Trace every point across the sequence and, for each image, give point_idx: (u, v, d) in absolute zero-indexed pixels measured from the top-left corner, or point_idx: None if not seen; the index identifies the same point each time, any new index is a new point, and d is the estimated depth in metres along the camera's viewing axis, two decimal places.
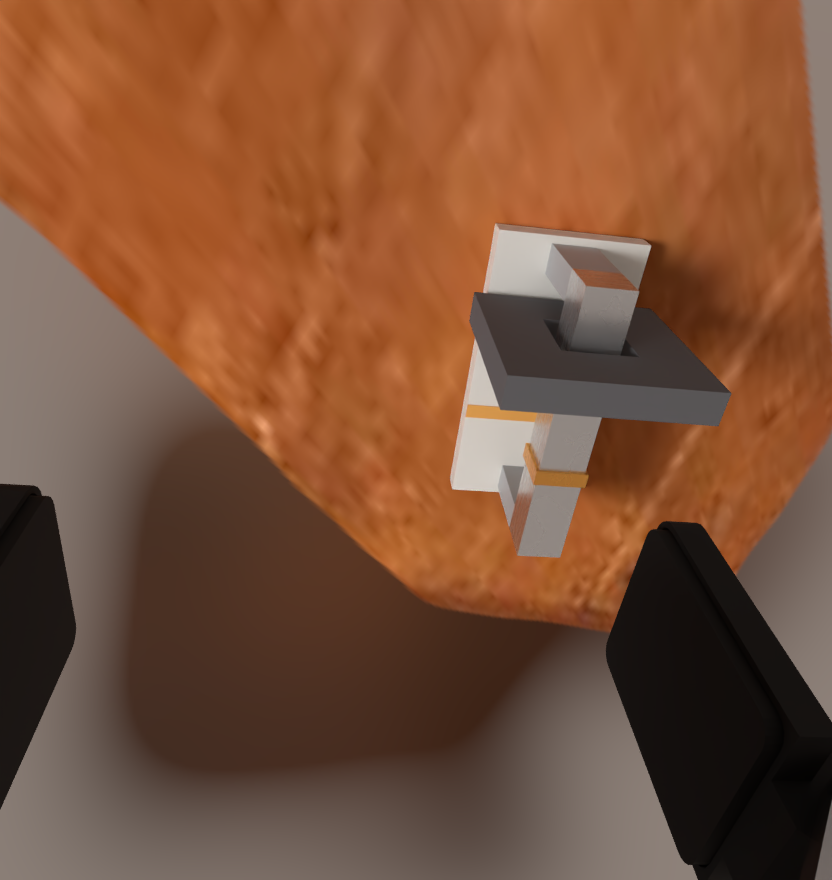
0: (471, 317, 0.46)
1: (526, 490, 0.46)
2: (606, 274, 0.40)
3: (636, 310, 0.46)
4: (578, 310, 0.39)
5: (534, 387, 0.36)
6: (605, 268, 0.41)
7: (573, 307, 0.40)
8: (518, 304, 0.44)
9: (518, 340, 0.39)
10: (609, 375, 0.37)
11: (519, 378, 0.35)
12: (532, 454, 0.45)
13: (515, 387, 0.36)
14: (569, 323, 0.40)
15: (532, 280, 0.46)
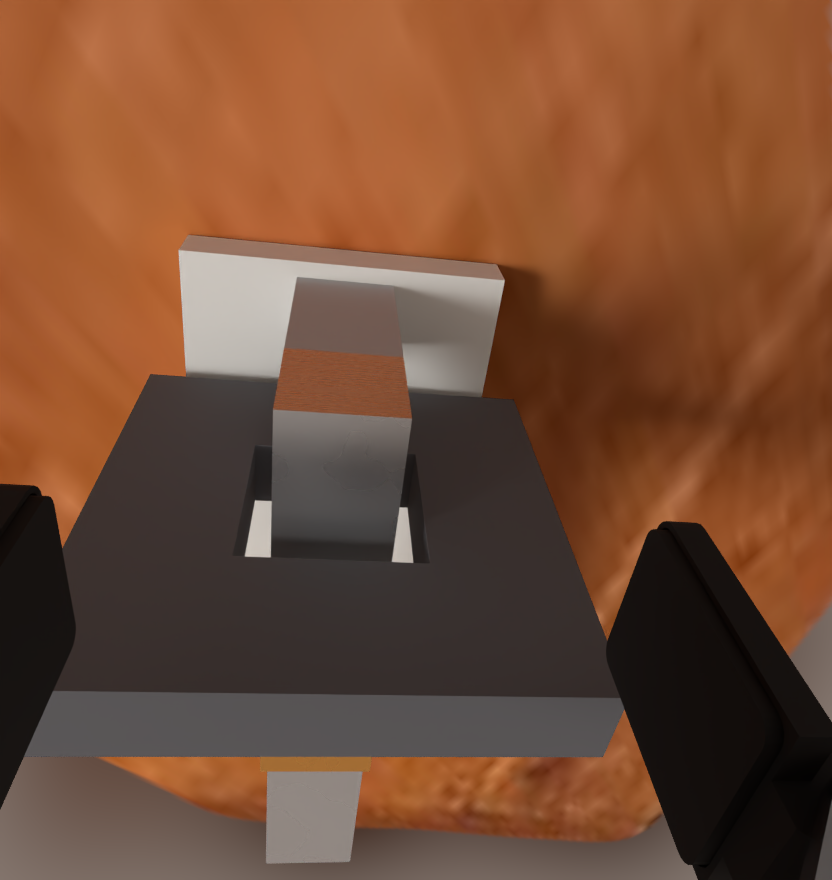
0: None
1: None
2: (360, 363, 0.17)
3: (482, 407, 0.23)
4: (273, 460, 0.16)
5: (82, 711, 0.13)
6: (371, 342, 0.18)
7: None
8: (226, 405, 0.21)
9: (140, 526, 0.17)
10: (312, 655, 0.14)
11: None
12: None
13: None
14: None
15: (271, 349, 0.23)
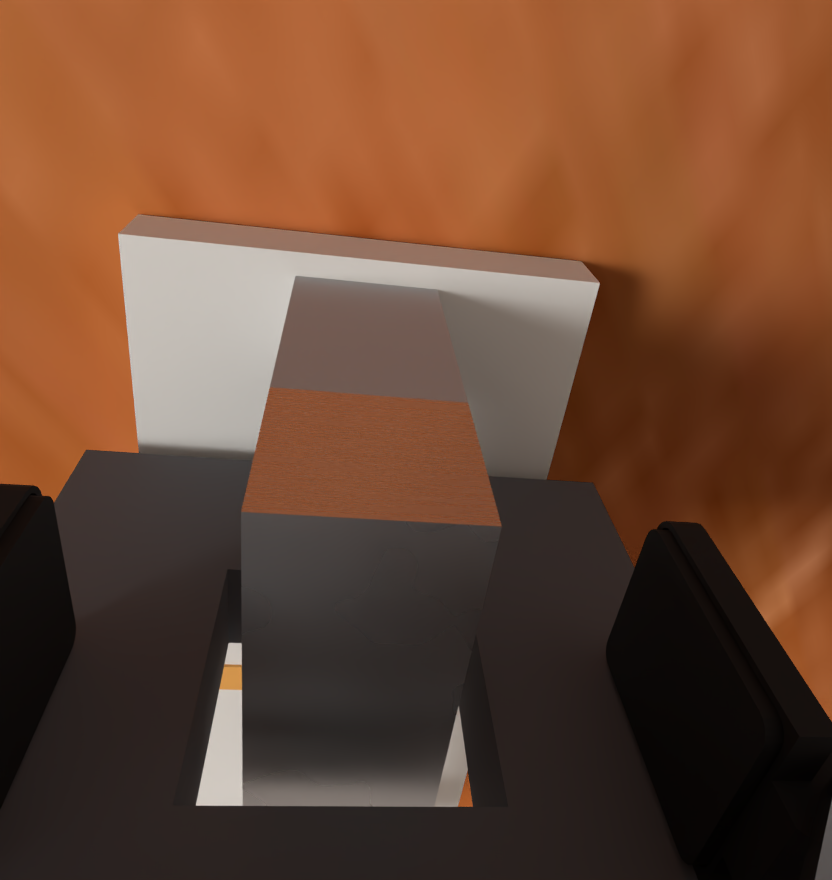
0: None
1: None
2: (398, 414, 0.10)
3: (552, 495, 0.17)
4: (244, 593, 0.09)
5: None
6: (414, 377, 0.11)
7: None
8: (190, 499, 0.15)
9: None
10: None
11: None
12: None
13: None
14: None
15: (258, 381, 0.16)
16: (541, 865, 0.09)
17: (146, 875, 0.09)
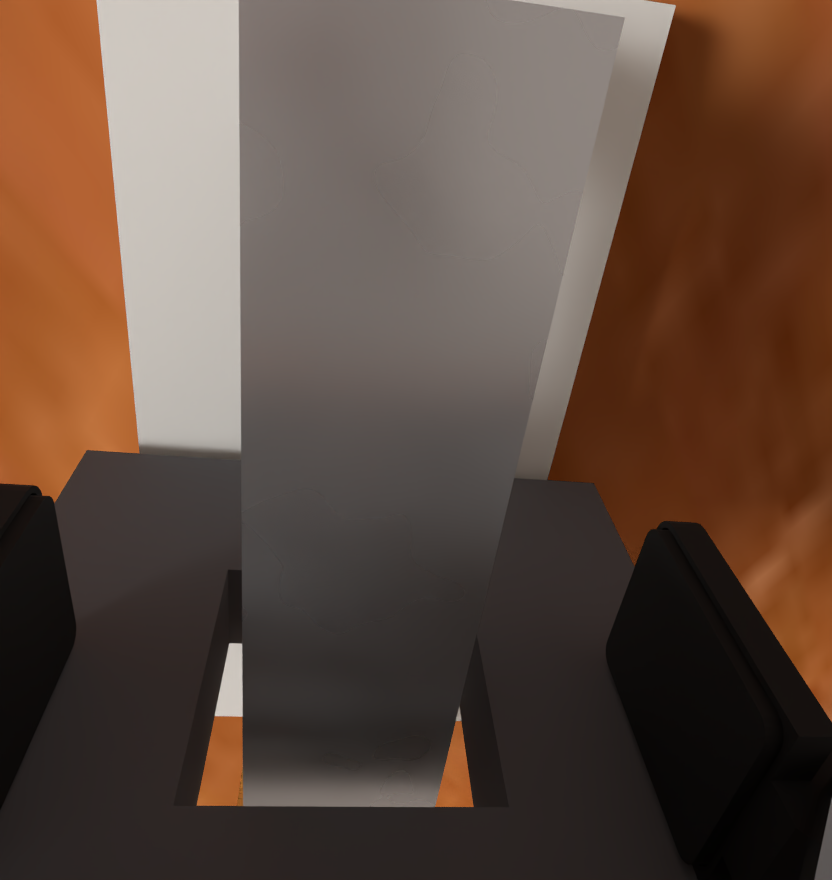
0: None
1: None
2: None
3: (552, 496, 0.17)
4: (244, 167, 0.06)
5: None
6: None
7: None
8: (190, 499, 0.15)
9: None
10: None
11: None
12: None
13: None
14: None
15: None
16: (542, 866, 0.09)
17: (146, 875, 0.09)
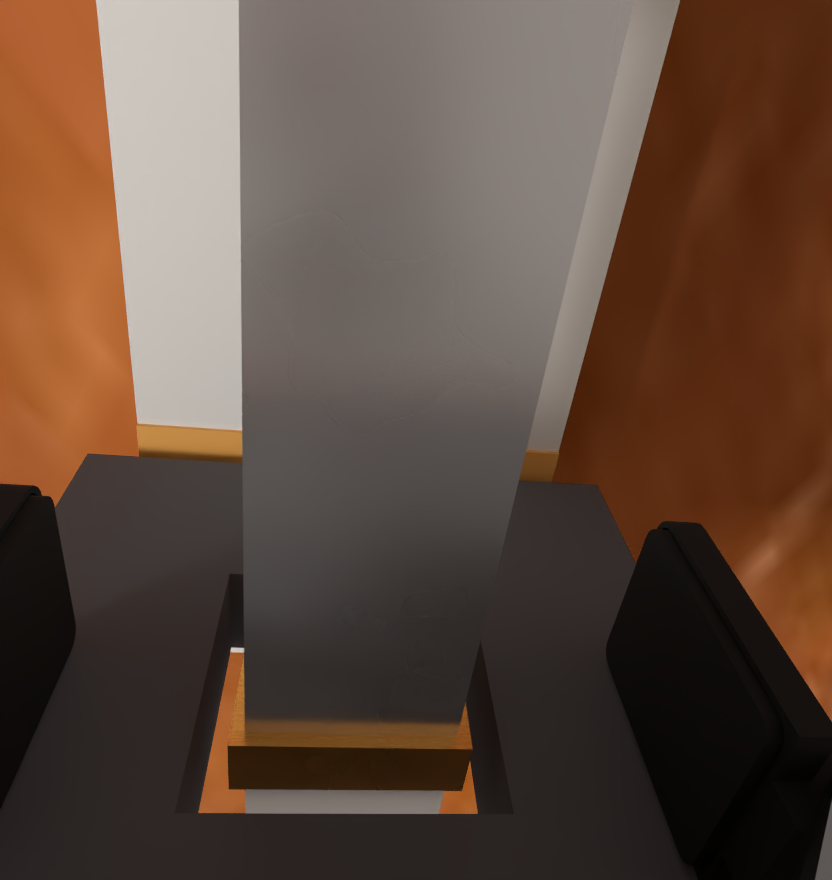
0: None
1: None
2: None
3: (556, 498, 0.17)
4: None
5: None
6: None
7: None
8: (192, 503, 0.15)
9: None
10: None
11: None
12: None
13: None
14: None
15: None
16: (547, 873, 0.09)
17: None
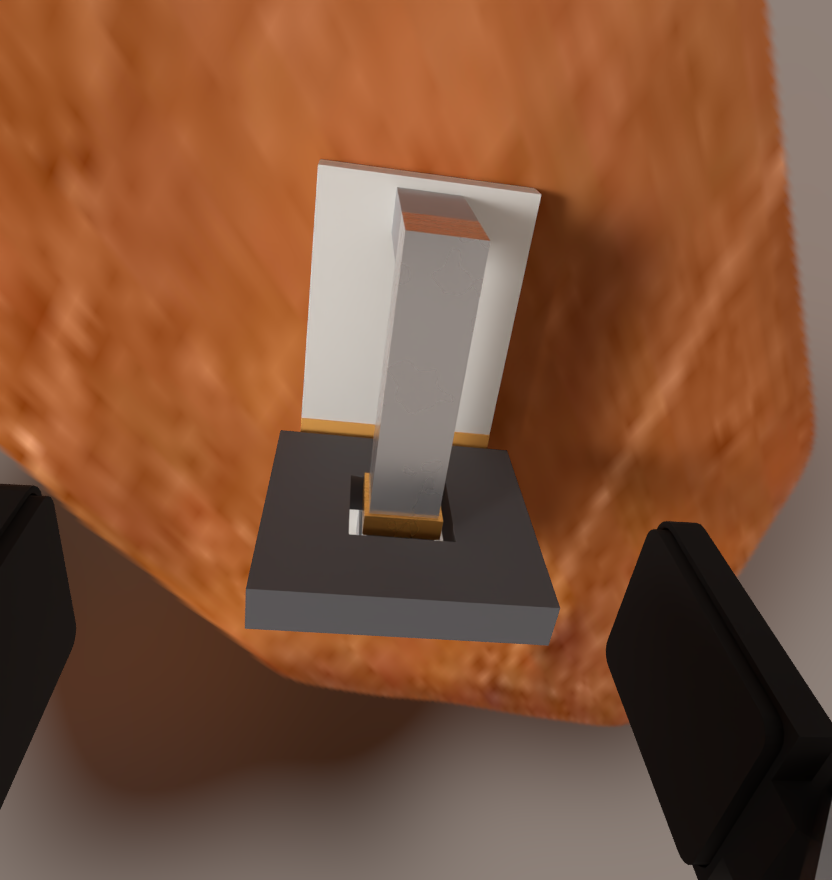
0: None
1: None
2: (452, 220, 0.26)
3: (486, 454, 0.37)
4: (399, 271, 0.25)
5: (286, 603, 0.26)
6: (456, 214, 0.28)
7: (398, 268, 0.26)
8: (329, 450, 0.35)
9: (297, 517, 0.30)
10: (396, 581, 0.27)
11: (263, 592, 0.26)
12: (367, 489, 0.31)
13: (260, 602, 0.26)
14: (394, 293, 0.26)
15: (373, 242, 0.32)
16: (465, 554, 0.29)
17: (345, 547, 0.29)
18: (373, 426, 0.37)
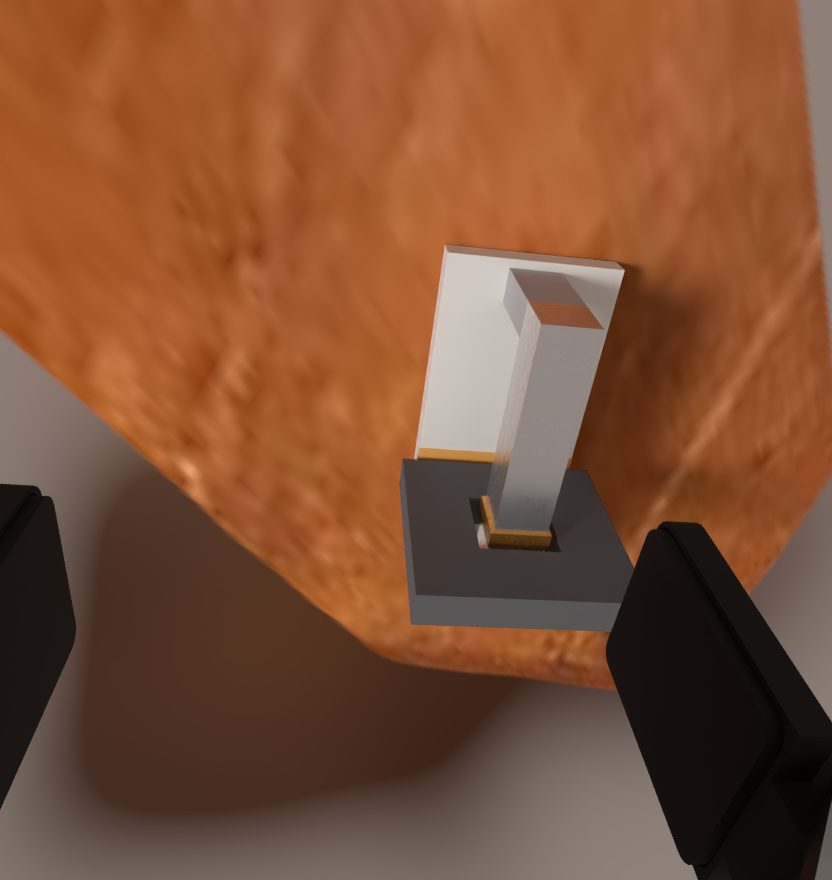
0: (400, 483, 0.44)
1: None
2: (568, 307, 0.34)
3: (571, 475, 0.45)
4: (532, 352, 0.33)
5: (444, 604, 0.34)
6: (567, 299, 0.35)
7: (528, 347, 0.34)
8: (446, 475, 0.43)
9: (437, 535, 0.38)
10: (525, 586, 0.35)
11: (428, 597, 0.34)
12: (487, 510, 0.39)
13: (425, 605, 0.34)
14: (524, 365, 0.34)
15: (488, 310, 0.40)
16: (572, 562, 0.37)
17: (479, 559, 0.37)
18: (477, 453, 0.45)
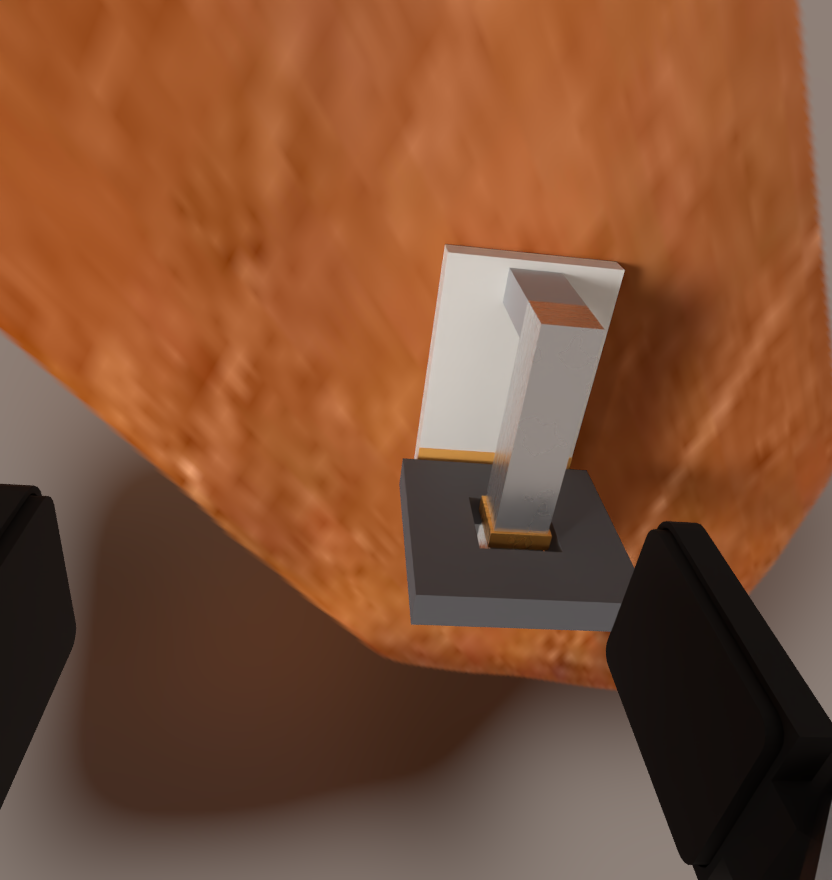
0: (400, 483, 0.44)
1: None
2: (568, 307, 0.34)
3: (571, 474, 0.45)
4: (533, 352, 0.33)
5: (444, 604, 0.34)
6: (567, 299, 0.35)
7: (528, 347, 0.34)
8: (446, 475, 0.43)
9: (437, 535, 0.38)
10: (525, 586, 0.35)
11: (428, 597, 0.34)
12: (488, 510, 0.39)
13: (425, 605, 0.34)
14: (524, 365, 0.34)
15: (488, 310, 0.40)
16: (572, 562, 0.37)
17: (480, 559, 0.37)
18: (477, 453, 0.45)
